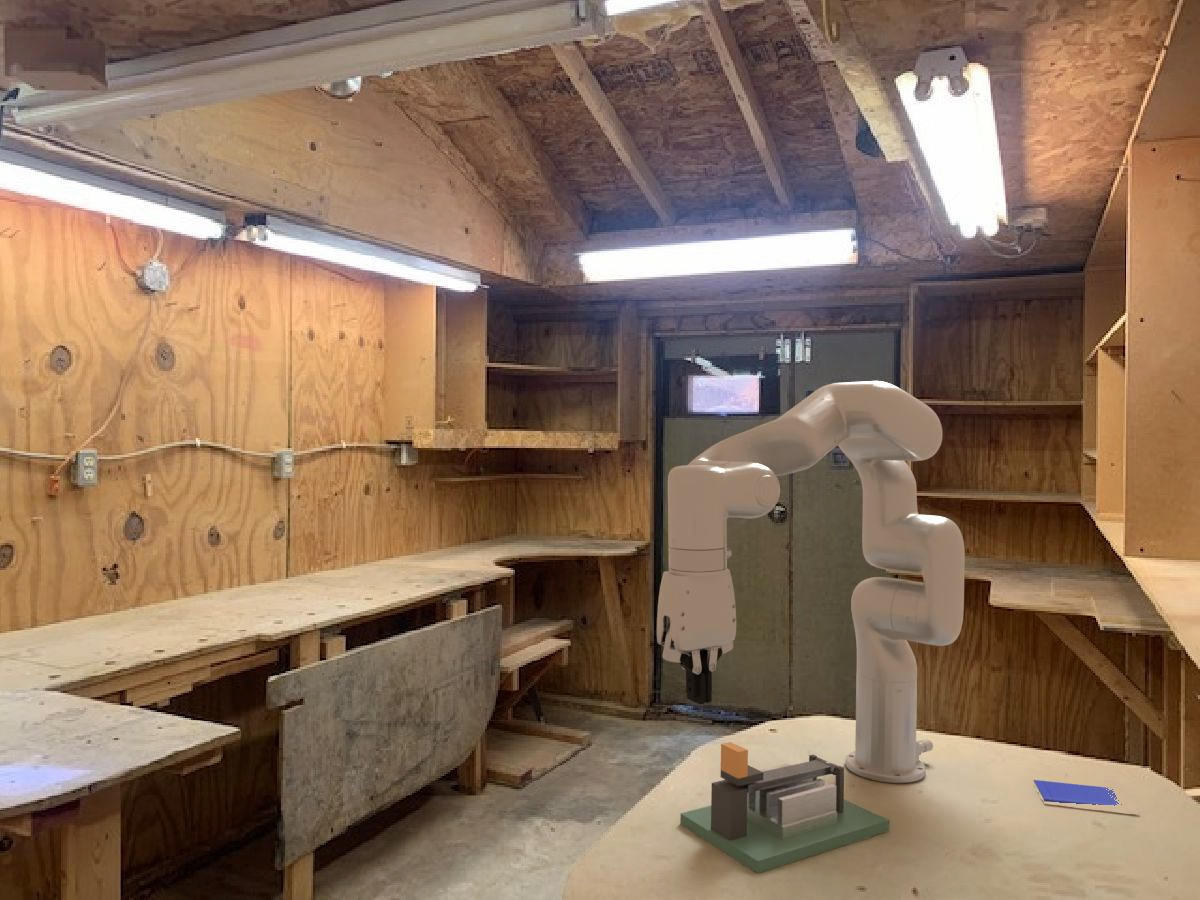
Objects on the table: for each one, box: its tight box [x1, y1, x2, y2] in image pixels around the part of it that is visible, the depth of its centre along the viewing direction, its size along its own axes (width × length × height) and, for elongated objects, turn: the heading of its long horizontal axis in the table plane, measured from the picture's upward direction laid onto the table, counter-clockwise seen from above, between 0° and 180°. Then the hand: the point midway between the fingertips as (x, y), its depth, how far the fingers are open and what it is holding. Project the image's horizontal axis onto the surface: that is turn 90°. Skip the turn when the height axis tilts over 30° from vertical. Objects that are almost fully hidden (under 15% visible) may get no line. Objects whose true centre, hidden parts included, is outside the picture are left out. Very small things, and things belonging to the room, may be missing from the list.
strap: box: [741, 756, 838, 793], centre depth 120 cm, size 17×4×1 cm, turn 121°
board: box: [679, 754, 890, 874], centre depth 120 cm, size 24×16×8 cm, turn 121°
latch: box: [720, 741, 763, 786], centre depth 116 cm, size 4×4×4 cm
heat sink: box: [747, 763, 837, 839], centre depth 120 cm, size 10×10×5 cm
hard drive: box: [1032, 779, 1122, 806], centre depth 131 cm, size 2×8×12 cm
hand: (699, 700), depth 112 cm, fingers closed
